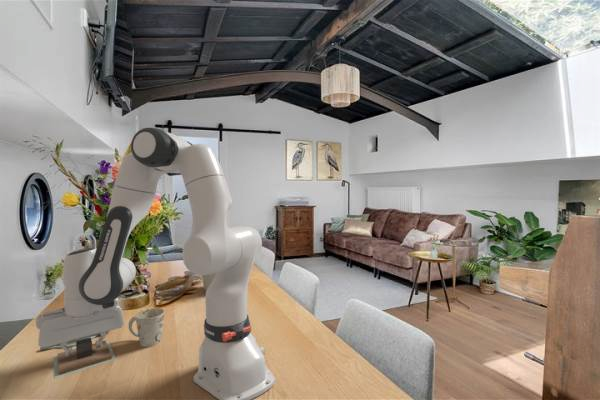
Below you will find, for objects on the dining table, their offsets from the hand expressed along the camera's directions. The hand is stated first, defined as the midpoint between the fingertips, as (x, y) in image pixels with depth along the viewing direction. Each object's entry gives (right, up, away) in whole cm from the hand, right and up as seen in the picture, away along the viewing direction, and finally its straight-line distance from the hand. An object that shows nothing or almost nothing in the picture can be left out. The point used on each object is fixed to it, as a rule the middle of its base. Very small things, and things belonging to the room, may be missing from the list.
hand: (84, 351), depth 90 cm
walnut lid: (0, -2, 0) cm, 2 cm away
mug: (+13, -2, +9) cm, 16 cm away
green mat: (0, -3, 0) cm, 3 cm away
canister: (+23, 0, +62) cm, 66 cm away
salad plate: (-12, -3, +15) cm, 19 cm away
